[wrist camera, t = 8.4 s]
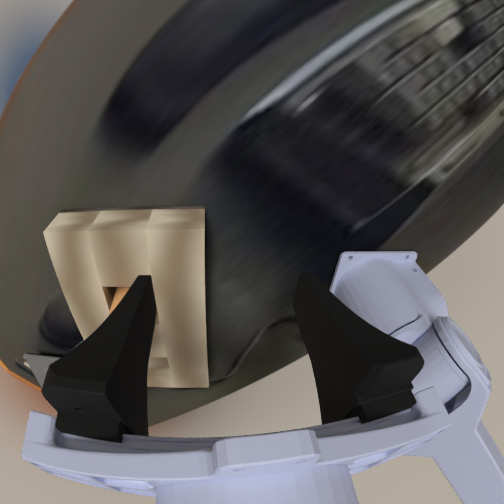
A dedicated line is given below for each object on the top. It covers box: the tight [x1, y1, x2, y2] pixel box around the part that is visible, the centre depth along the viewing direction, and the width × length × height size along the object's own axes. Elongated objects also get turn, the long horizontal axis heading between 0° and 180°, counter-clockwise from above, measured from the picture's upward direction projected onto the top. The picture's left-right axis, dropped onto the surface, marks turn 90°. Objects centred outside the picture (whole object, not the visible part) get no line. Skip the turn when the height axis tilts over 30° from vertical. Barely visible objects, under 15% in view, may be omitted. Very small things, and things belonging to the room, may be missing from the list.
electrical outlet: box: [24, 353, 61, 387], centre depth 31 cm, size 13×10×2 cm
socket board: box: [43, 206, 209, 388], centre depth 24 cm, size 12×20×4 cm, turn 175°
